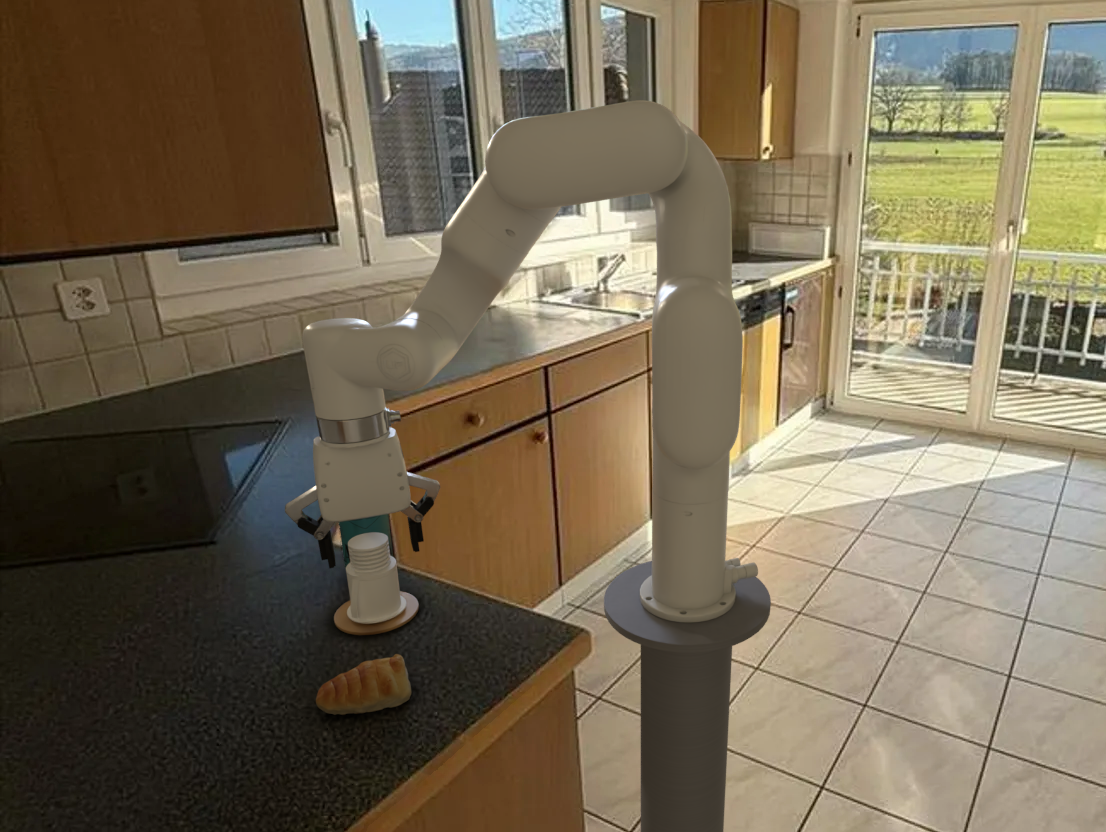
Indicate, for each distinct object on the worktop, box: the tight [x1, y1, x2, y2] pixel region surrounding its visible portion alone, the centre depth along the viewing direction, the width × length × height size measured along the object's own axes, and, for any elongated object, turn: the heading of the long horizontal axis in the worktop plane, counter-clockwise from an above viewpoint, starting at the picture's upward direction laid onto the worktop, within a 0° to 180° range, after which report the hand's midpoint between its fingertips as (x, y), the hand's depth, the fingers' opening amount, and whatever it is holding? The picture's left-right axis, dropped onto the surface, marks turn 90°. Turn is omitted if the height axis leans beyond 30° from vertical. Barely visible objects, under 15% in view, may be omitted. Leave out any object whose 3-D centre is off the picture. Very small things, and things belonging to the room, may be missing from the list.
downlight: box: [345, 532, 406, 624], centre depth 99 cm, size 8×7×10 cm
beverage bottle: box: [337, 514, 394, 568], centre depth 107 cm, size 6×7×20 cm
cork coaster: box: [333, 590, 420, 636], centre depth 101 cm, size 10×10×1 cm
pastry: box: [315, 653, 412, 716], centre depth 85 cm, size 9×7×4 cm
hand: (374, 555), depth 98 cm, fingers open, 9 cm apart
